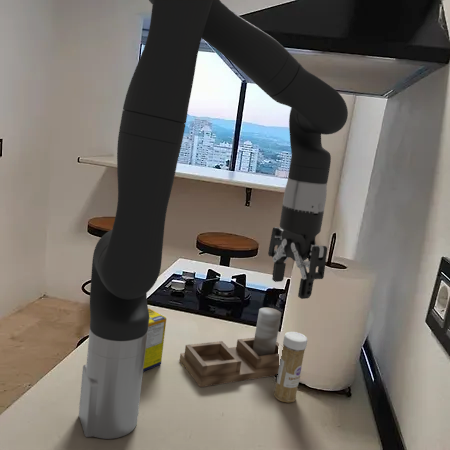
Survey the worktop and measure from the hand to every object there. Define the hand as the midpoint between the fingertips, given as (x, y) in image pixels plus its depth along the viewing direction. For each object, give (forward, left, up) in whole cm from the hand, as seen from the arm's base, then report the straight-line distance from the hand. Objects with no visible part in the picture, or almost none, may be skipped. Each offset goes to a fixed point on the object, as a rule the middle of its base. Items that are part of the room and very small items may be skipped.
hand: (290, 289), depth 87 cm
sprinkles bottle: (+3, 0, -23) cm, 24 cm away
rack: (-1, +13, -23) cm, 26 cm away
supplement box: (-21, +19, -23) cm, 36 cm away
